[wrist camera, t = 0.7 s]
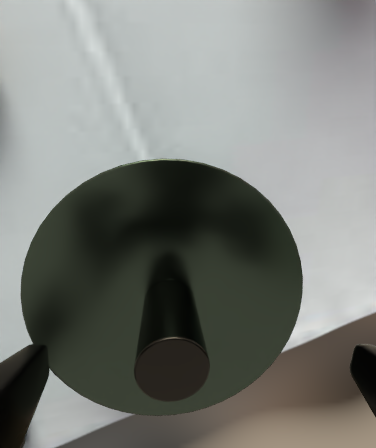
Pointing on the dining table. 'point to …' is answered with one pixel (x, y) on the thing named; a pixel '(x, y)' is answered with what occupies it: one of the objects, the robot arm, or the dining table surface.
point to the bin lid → (162, 287)
